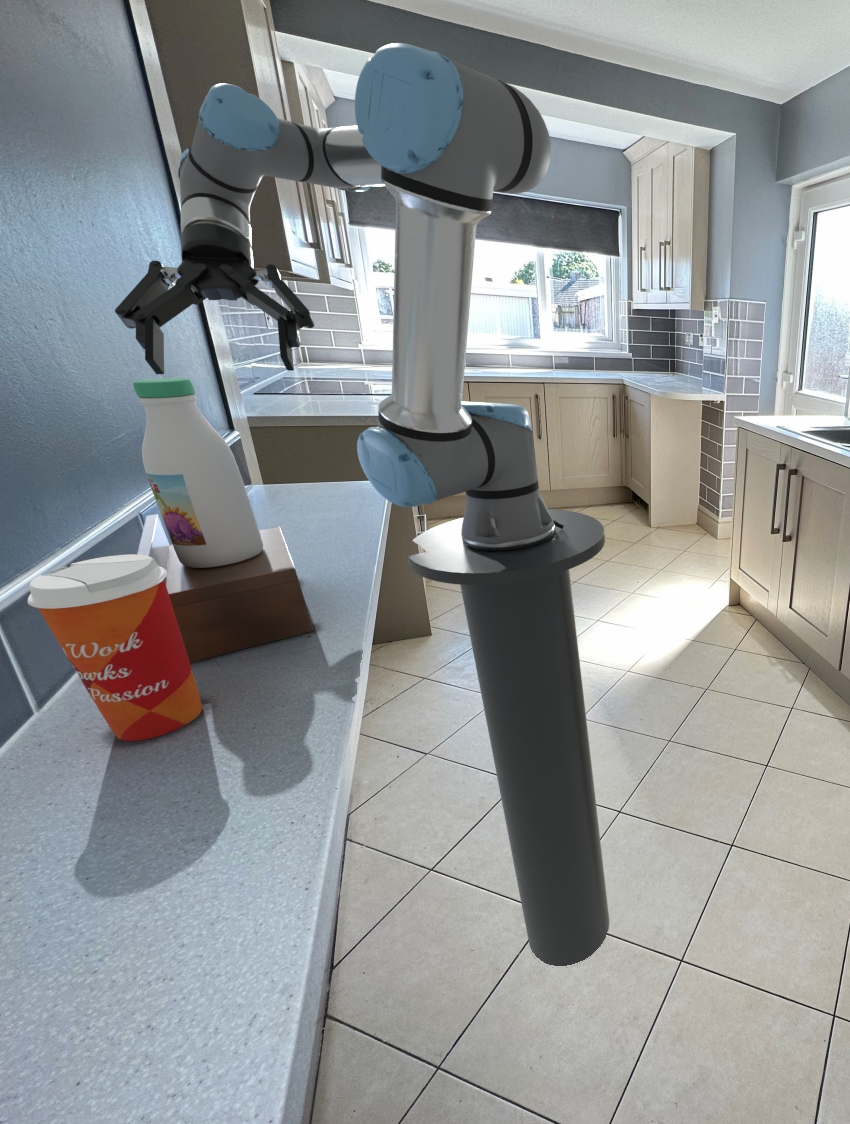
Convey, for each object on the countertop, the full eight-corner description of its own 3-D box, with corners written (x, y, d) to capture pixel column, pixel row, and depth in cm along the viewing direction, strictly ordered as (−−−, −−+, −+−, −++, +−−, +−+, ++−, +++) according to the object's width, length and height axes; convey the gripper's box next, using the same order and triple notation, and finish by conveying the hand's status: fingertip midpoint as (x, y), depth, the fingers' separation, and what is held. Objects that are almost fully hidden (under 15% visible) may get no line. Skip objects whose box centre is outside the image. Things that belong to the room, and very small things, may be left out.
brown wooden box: (296, 581, 84) (271, 497, 79) (314, 631, 71) (284, 534, 67) (181, 605, 77) (146, 515, 72) (178, 665, 64) (135, 560, 60)
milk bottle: (259, 540, 76) (205, 373, 68) (270, 557, 71) (213, 379, 63) (177, 556, 71) (109, 378, 63) (183, 575, 66) (110, 385, 58)
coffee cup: (69, 747, 52) (-14, 589, 46) (159, 692, 60) (98, 550, 54) (162, 752, 52) (91, 593, 46) (241, 695, 59) (189, 553, 54)
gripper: (330, 269, 93) (344, 380, 87) (114, 262, 83) (111, 388, 76) (316, 226, 87) (329, 342, 80) (80, 213, 77) (73, 346, 70)
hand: (223, 365), depth 78 cm, fingers open, 13 cm apart
